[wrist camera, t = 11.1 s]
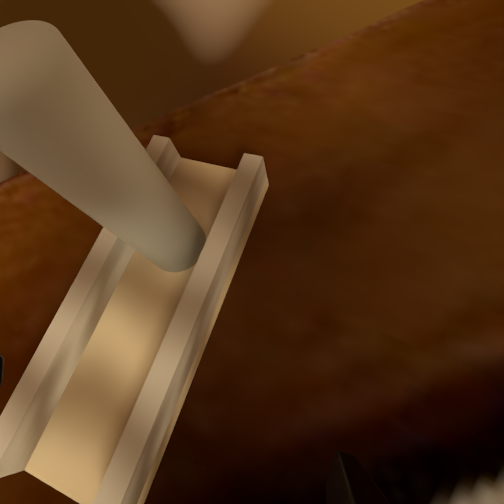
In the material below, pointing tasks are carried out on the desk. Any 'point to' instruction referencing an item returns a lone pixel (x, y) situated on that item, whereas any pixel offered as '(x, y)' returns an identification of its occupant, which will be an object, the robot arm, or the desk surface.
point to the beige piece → (87, 147)
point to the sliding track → (129, 345)
